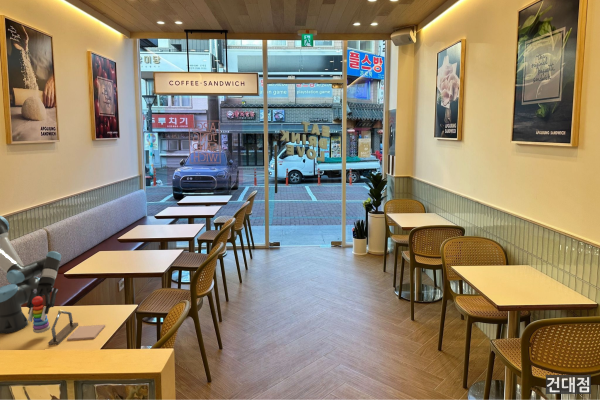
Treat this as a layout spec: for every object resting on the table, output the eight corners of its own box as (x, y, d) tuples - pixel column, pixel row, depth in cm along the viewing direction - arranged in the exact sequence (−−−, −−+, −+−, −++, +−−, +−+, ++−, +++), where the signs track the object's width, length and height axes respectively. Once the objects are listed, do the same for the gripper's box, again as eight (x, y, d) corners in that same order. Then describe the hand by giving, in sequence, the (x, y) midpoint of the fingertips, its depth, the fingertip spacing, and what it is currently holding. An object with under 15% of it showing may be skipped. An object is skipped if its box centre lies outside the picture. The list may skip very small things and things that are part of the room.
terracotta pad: (67, 340, 239) (67, 338, 239) (79, 328, 253) (79, 326, 253) (94, 338, 239) (94, 336, 239) (105, 326, 253) (105, 324, 253)
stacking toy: (43, 334, 240) (36, 300, 237) (29, 333, 242) (23, 299, 238) (53, 327, 248) (48, 294, 244) (40, 326, 249) (34, 293, 246)
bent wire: (69, 325, 257) (65, 302, 254) (78, 325, 257) (74, 301, 254) (48, 345, 235) (44, 319, 232) (58, 344, 235) (54, 319, 232)
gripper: (68, 280, 256) (57, 321, 243) (33, 282, 256) (21, 323, 243) (62, 275, 250) (51, 316, 237) (26, 276, 250) (13, 318, 237)
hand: (36, 320), depth 240 cm, fingers closed on stacking toy, 6 cm apart
